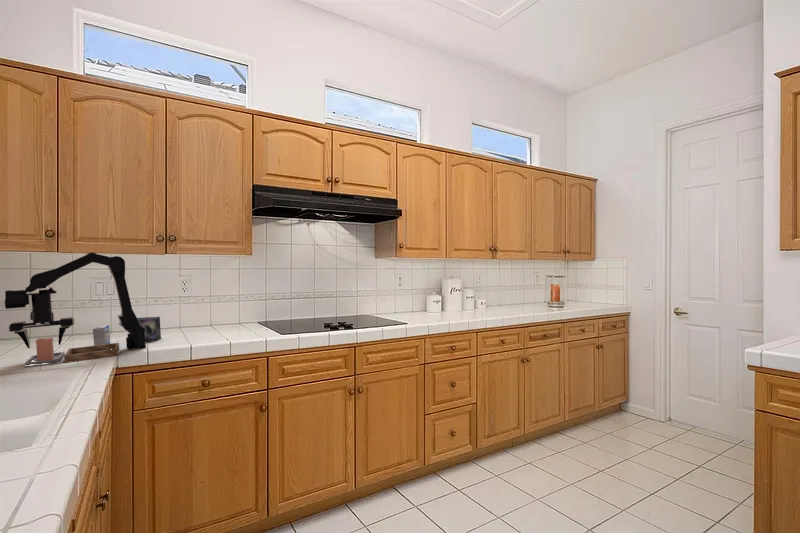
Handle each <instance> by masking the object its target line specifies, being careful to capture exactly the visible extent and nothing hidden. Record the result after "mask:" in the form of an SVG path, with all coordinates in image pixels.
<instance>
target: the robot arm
mask: <svg viewBox="0 0 800 533" xmlns="http://www.w3.org/2000/svg"><path fill="white" fill-rule="evenodd" d="M93 263H95V264H97V265H98V264H100V265H104V266H107V268H108V270H109V272H110V274H111V276H112V278H113V281H114V284H115V289H116V293H117V297H118V301H119V306H120V310H121V311H120V315H119V314H118V315H117V318H118V321H119V324H118V325H119V326H120V327H122V328H123V330H125V331H127V336H126V338H125V341H126V342H125V343H126V344H125V345H126V348H127V350H129V349H130V350H134V349H135V350H136V349H144V348H146V347H147V345H146V342H145V328H143V327H142V326H141V325H139V322H138V319H137V318H138V317H137V316H136V314H135V312H134V310H133V308H132V306H133V305H132V303H131V299H130V298H131V297H130V294H129V290H128V289H129V288H128V285H127V281H126V261H125V259H124V258H123V257H121V256H118V255H117V256H115V255H114V256H107V255H103V254H98V253H96V252H88V253H86V254H85V255H83V256H81V257H78V258H75V259H74V260H72V261H70V262H68V263H64V264H62V265H60V266H59V267H55V268H53V269H49V270H48V269H47V270H45V271H42V272H38V273H35V274H33V275H32V276H30V277H31V278H30V280H29V282H30V283H29V285H28V286H26V287H25V289H19V290H10V289H9V290H5V293H4V294H5V296H4V297H5V298H4V307H5V310H10V309H22V308H26V306H28V305H30V299H31V311H30V320H31V321H32V322H26V321H25V320H24V321H15V322H12V323H11V324H9V326H8V332H12V333H13V334H16V335H18V336H19V337H20V338H21V340H22V341H23V342H24V344H25V346H26V348H27V349H30V347H31V345H30V344H31V343H30V339H29V334H28V333H29V332H28V329H30V328H41V327H42V328H43V327H52V326H60V327H59V328H58V345H59V346H61V344H62V341H63V338H64V335H65V332H66V331H67V329H70V328H71V327H72V326H74V325H75V318H74V317H72V316H71V317H61V318H60V319H59V320H54V319H55V316H54V312H53V308H52V307H53V306H52V294H53V295H54V294H57V291H56V290H55V289H53V287H51V286H50V285H51V284H54V282H56V281H57V280H59V279H60V278H62V277H63V276H66V275H68V274H70V273H72V272H74V271H77V270H79V269H81V268H83V267H85V266H88V265H89V264H93ZM48 286H50V287H49V288H48V289H45V288H47V287H48ZM38 289H39V290H38ZM36 290H38V292H34V291H36ZM30 296H31V298H30ZM130 350H129V351H130Z"/></svg>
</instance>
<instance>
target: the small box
mask: <svg viewBox="0 0 800 533" xmlns="http://www.w3.org/2000/svg"><path fill="white" fill-rule="evenodd" d="M137 319H138V322H139V325H141V326H142V327H143V328H145V343H146V342H157V341H160V339H162V333H161V331H162V330H161V317H160V316H149V317H148V316H147V317H137Z"/></svg>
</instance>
